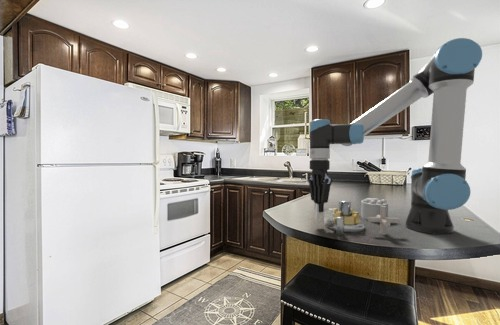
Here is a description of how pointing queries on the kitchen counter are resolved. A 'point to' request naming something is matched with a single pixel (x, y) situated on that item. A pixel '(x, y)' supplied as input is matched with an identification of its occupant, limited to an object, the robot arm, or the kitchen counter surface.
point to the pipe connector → (383, 220)
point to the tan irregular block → (333, 213)
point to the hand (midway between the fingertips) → (319, 219)
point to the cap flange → (346, 211)
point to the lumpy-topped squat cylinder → (372, 207)
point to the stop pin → (340, 225)
